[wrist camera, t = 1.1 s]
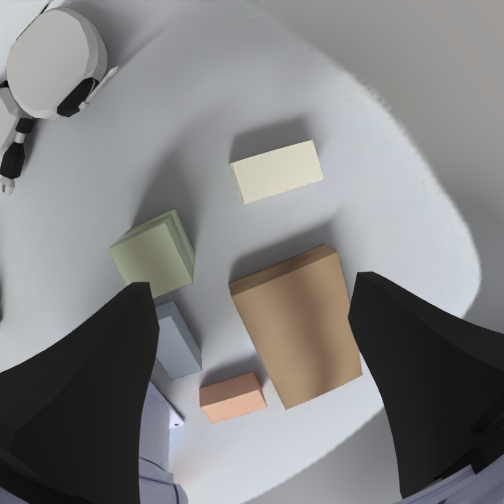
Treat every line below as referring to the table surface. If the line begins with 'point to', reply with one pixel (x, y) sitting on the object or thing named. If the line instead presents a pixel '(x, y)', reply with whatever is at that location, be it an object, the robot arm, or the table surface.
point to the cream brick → (276, 171)
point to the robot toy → (47, 80)
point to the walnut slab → (300, 324)
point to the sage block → (156, 254)
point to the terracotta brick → (232, 398)
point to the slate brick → (176, 343)
